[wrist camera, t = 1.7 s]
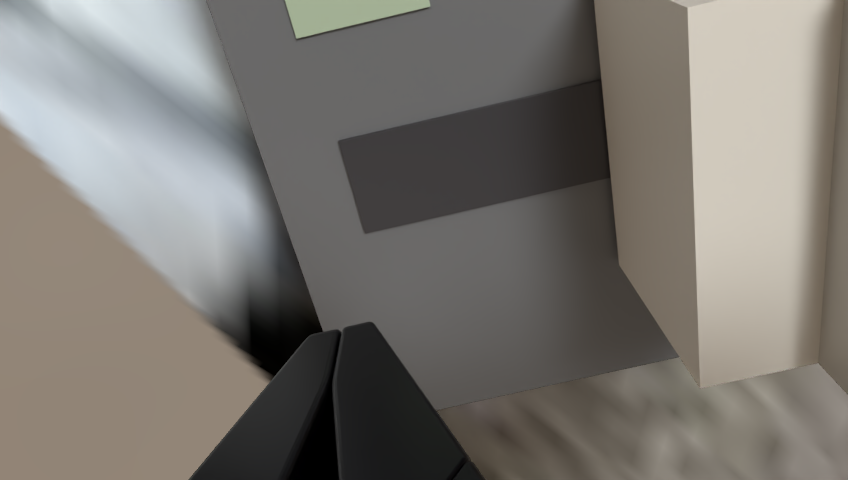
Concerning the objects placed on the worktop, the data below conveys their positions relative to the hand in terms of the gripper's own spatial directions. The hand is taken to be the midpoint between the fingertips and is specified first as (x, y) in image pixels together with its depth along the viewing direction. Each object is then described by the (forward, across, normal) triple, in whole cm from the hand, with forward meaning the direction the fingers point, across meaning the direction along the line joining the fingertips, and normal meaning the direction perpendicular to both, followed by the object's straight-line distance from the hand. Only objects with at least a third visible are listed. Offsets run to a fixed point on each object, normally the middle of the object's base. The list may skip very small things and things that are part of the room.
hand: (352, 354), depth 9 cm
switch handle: (+5, -7, 0) cm, 9 cm away
